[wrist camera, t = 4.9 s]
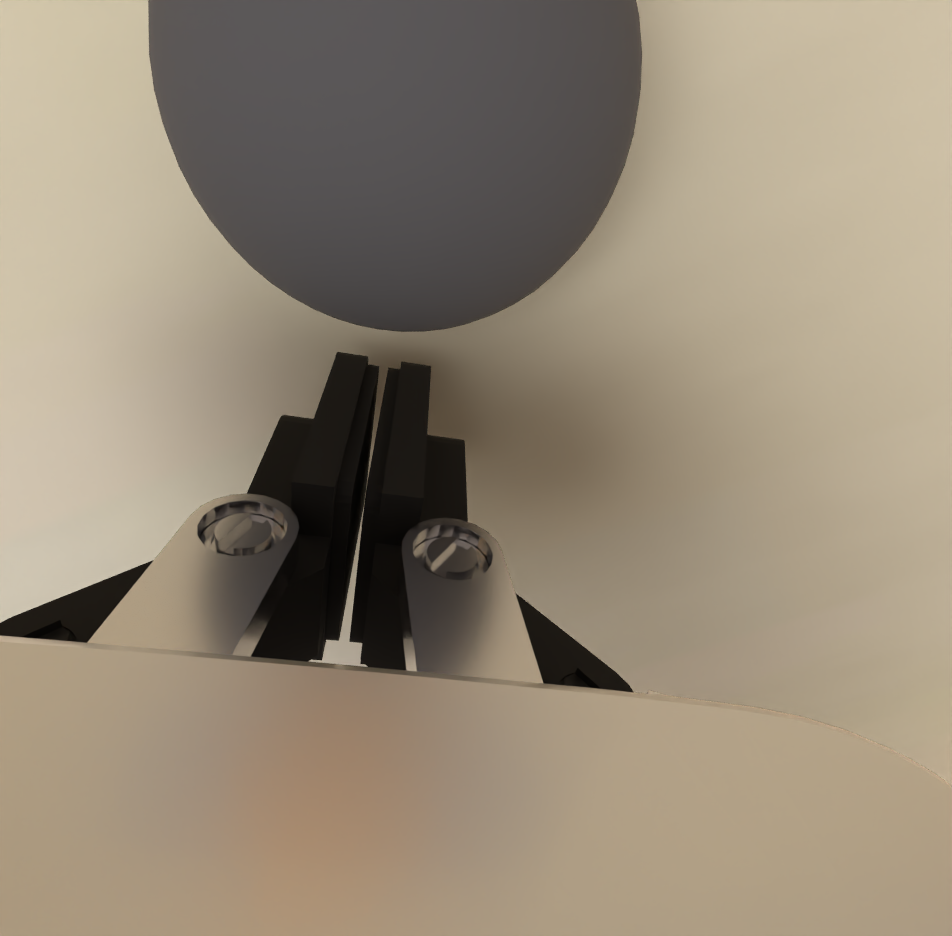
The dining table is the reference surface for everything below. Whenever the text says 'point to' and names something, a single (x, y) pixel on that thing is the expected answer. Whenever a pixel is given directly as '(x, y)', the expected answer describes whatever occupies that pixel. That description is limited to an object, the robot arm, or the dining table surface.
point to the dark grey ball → (400, 142)
